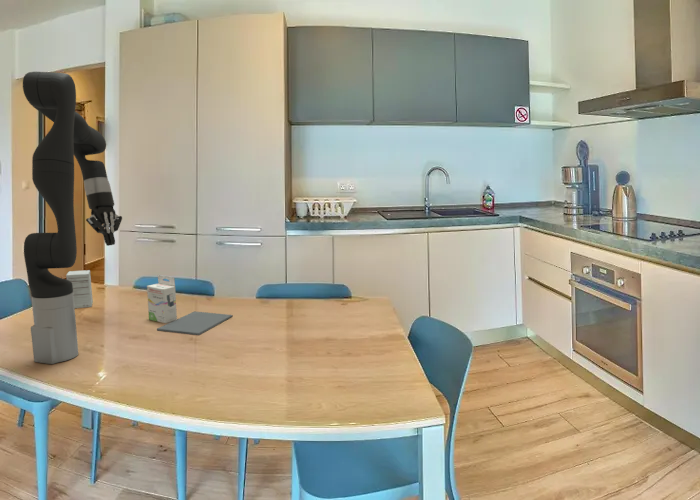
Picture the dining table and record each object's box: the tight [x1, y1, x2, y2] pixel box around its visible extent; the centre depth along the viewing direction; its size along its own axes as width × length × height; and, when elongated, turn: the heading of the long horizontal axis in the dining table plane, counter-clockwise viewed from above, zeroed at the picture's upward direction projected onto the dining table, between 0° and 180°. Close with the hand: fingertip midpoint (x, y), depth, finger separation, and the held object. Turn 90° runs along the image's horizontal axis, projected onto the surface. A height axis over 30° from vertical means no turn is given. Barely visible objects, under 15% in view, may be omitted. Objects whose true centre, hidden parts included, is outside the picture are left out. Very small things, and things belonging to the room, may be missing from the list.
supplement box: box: [65, 269, 94, 309], centre depth 172 cm, size 7×7×13 cm
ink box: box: [146, 274, 178, 324], centre depth 156 cm, size 9×5×15 cm, turn 62°
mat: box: [156, 310, 233, 336], centre depth 153 cm, size 20×15×1 cm
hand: (110, 245), depth 153 cm, fingers closed
